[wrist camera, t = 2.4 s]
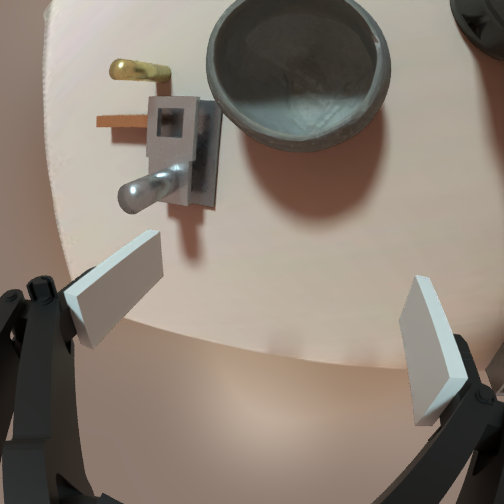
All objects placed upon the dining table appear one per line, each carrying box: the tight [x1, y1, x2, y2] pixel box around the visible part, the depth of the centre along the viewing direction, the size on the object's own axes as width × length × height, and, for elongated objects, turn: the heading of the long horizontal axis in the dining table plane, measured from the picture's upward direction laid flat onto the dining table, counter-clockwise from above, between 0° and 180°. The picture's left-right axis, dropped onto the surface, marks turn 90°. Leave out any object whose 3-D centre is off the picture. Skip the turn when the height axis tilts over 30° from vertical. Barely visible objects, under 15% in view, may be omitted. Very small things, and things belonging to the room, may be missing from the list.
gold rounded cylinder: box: [109, 59, 171, 83], centre depth 37 cm, size 3×3×12 cm
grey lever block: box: [97, 96, 222, 214], centre depth 42 cm, size 18×22×15 cm
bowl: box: [206, 0, 391, 152], centre depth 31 cm, size 21×21×15 cm
